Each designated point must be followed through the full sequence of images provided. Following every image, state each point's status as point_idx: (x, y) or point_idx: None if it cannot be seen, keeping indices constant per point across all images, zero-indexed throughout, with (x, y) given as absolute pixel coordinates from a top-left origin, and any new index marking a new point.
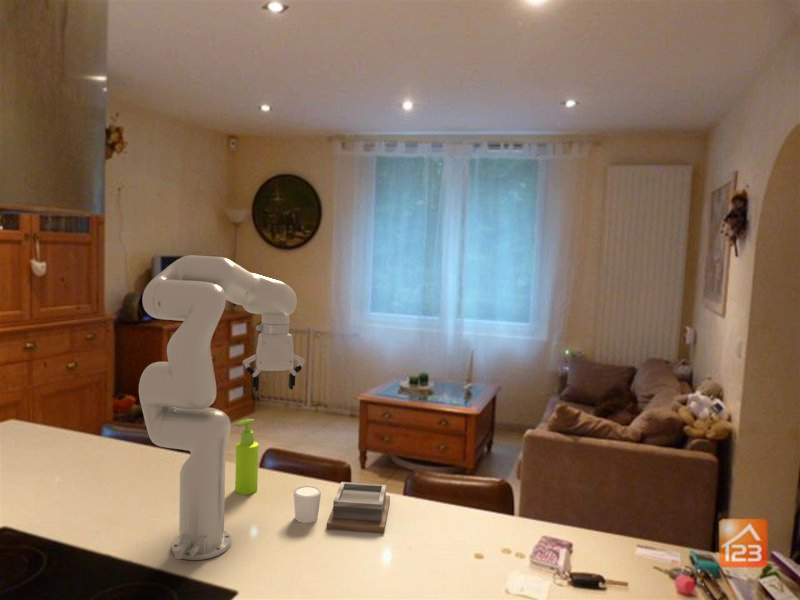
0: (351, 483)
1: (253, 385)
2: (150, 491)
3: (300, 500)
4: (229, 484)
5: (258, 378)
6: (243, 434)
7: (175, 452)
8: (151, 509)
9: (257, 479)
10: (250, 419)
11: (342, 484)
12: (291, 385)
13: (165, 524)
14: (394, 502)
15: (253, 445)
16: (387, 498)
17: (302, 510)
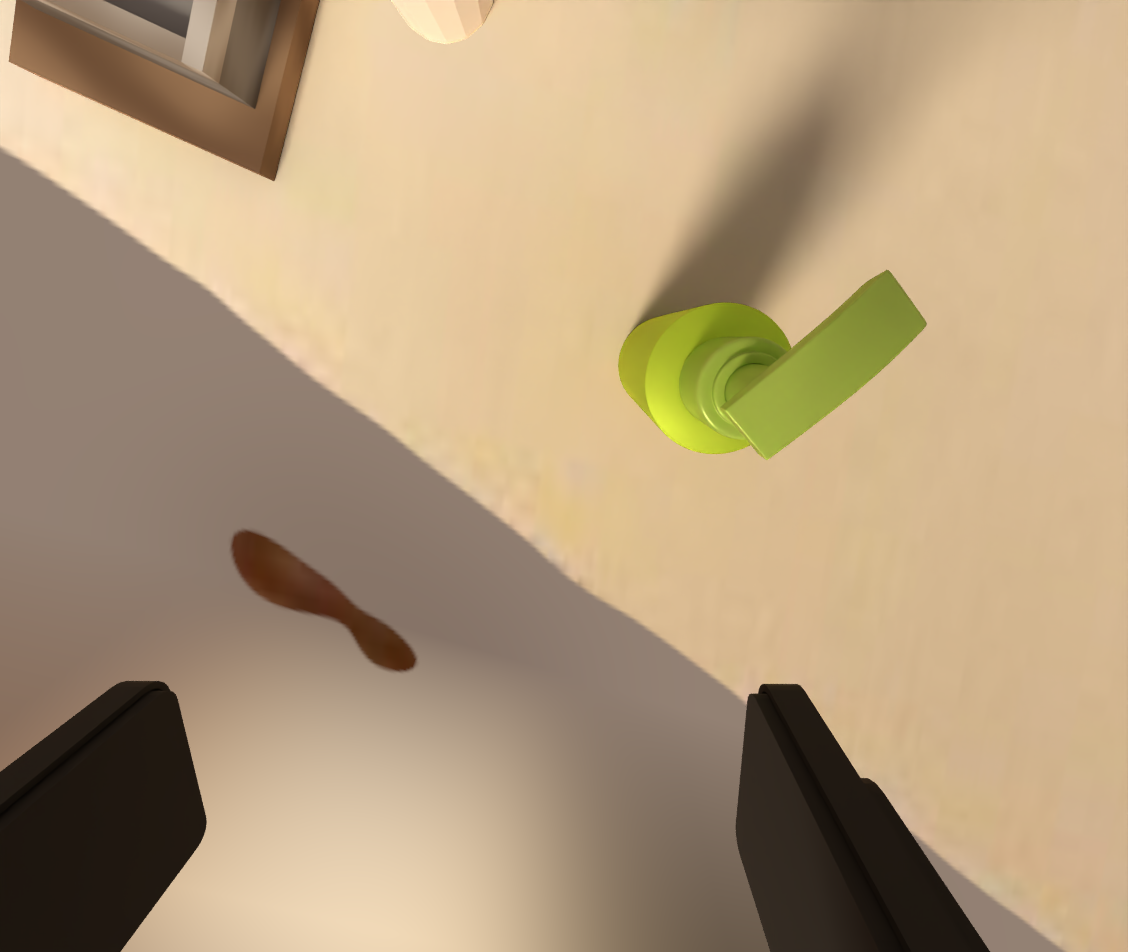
0: (145, 30)
1: (879, 797)
2: (1040, 447)
3: None
4: None
5: (878, 944)
6: (785, 351)
7: None
8: (1070, 260)
9: (623, 358)
10: (759, 411)
11: (198, 28)
12: (88, 730)
13: (1045, 83)
14: None
15: (686, 332)
16: (23, 27)
17: None
